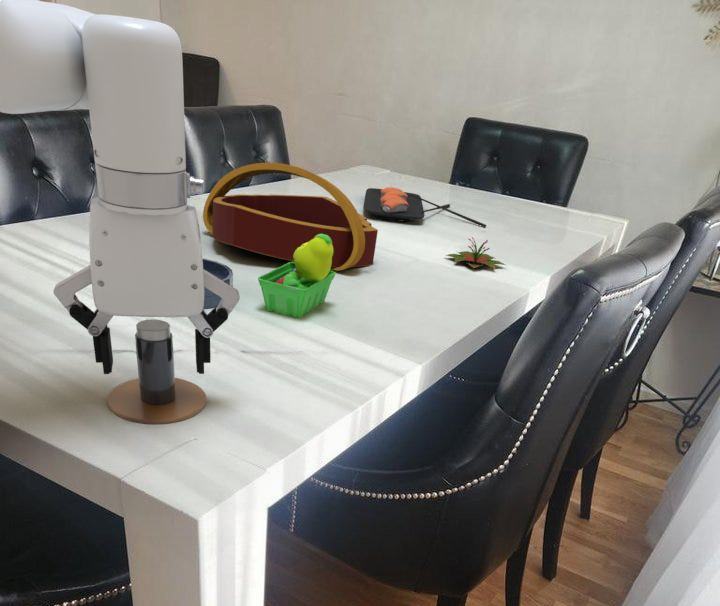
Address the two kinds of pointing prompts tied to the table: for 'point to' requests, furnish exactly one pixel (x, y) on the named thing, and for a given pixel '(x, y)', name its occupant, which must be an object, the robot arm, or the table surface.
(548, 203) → the table surface
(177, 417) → the cork coaster
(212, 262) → the bowl
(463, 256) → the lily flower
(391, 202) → the sushi plate
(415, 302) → the table surface
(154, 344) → the salt shaker
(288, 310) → the fruit basket
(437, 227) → the table surface
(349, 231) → the decorative basket
